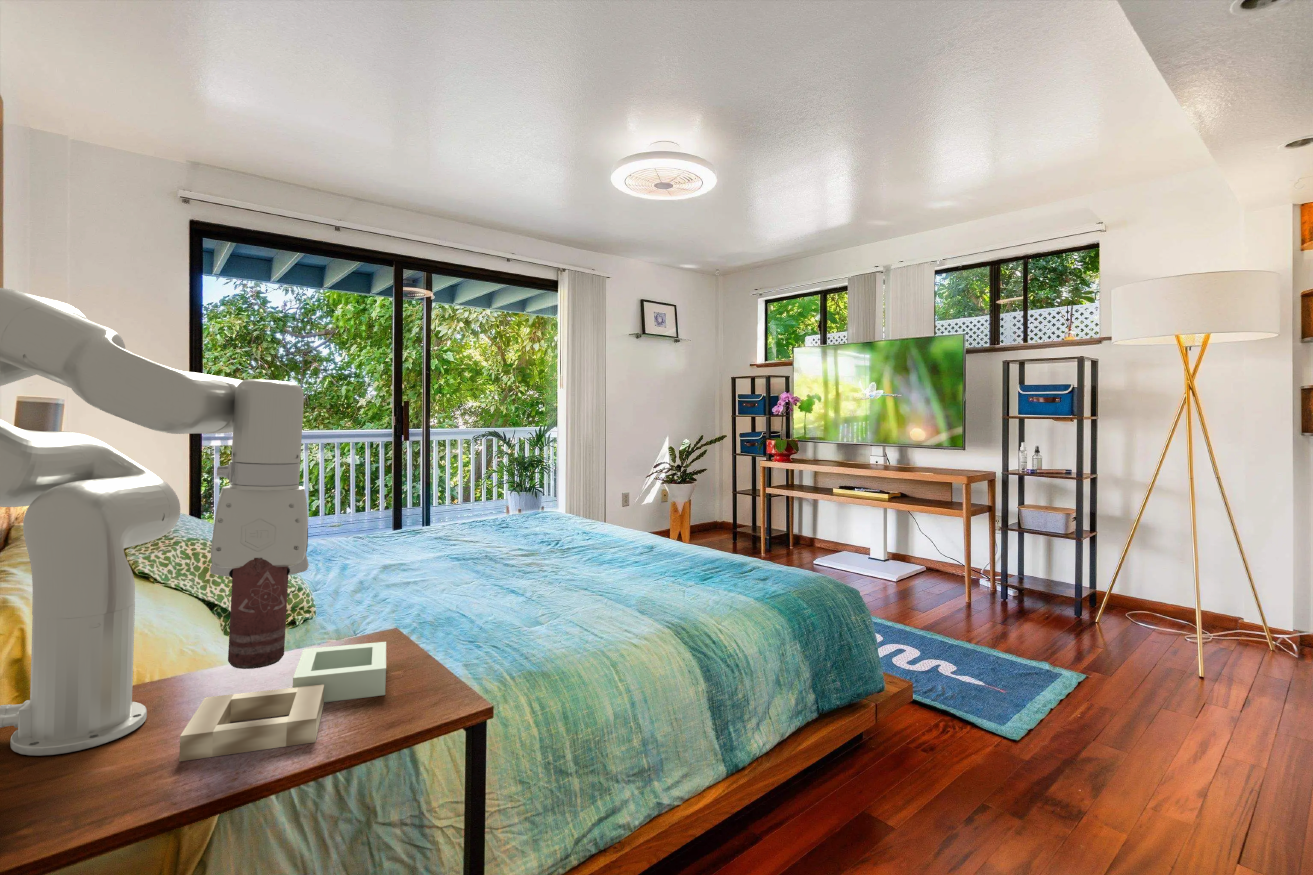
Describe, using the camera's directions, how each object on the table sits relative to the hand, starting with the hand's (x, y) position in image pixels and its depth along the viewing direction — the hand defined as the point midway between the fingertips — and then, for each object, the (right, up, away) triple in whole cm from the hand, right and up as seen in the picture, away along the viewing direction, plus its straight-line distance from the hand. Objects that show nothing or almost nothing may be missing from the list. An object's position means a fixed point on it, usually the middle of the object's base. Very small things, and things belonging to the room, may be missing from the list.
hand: (258, 618), depth 80 cm
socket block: (0, -15, 0) cm, 15 cm away
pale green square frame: (+3, -15, +15) cm, 21 cm away
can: (0, -6, 0) cm, 6 cm away
